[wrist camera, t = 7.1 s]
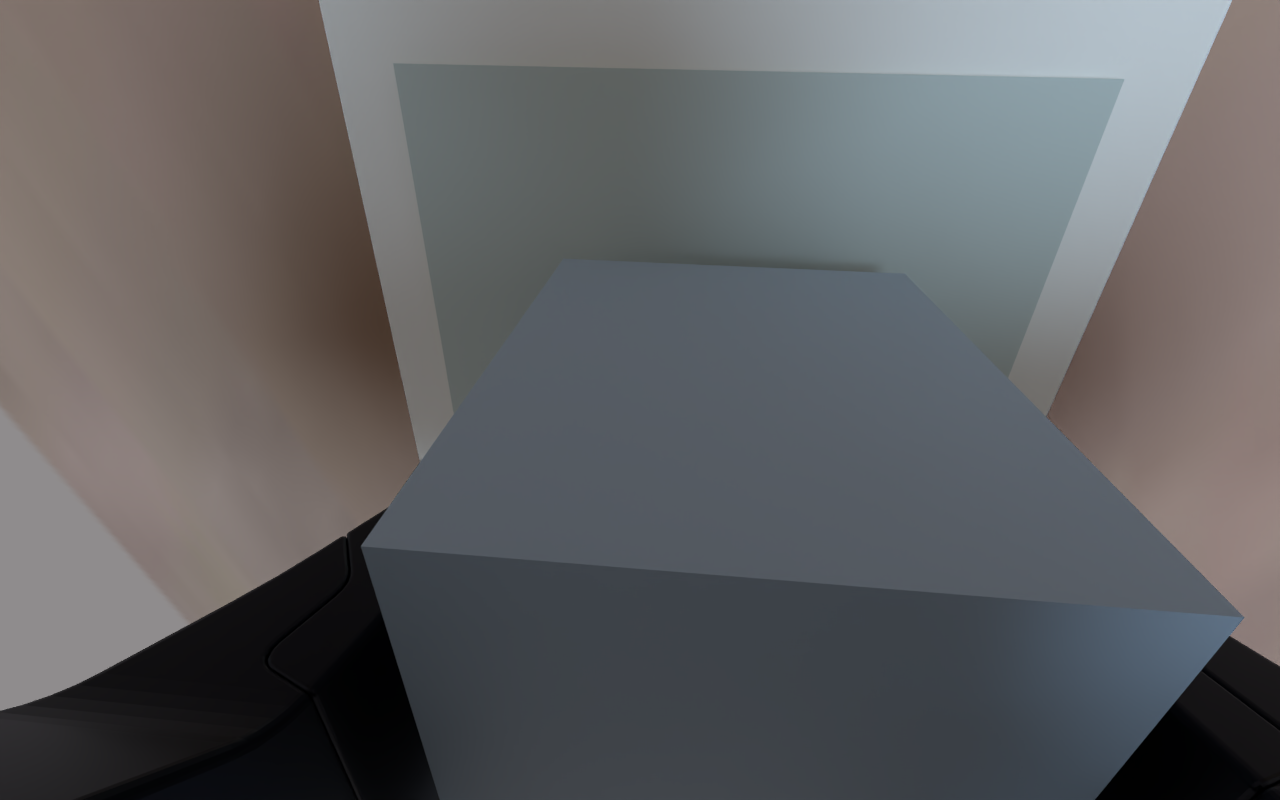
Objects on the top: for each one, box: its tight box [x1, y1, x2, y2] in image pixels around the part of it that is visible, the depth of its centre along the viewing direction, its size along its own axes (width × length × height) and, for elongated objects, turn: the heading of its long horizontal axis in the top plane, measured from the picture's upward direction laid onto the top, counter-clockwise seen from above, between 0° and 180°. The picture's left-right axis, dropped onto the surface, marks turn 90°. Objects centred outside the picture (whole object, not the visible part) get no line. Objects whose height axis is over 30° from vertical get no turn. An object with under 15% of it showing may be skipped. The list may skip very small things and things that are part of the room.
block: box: [361, 259, 1244, 800], centre depth 7 cm, size 5×5×6 cm
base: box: [319, 0, 1232, 462], centre depth 12 cm, size 12×12×3 cm
